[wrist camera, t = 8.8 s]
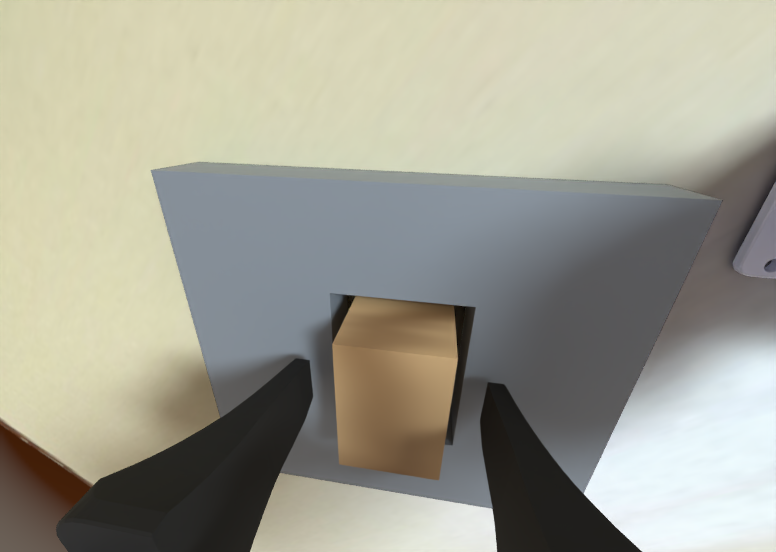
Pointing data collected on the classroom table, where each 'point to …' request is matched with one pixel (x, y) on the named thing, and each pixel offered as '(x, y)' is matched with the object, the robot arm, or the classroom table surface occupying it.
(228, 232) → the keyed pocket board
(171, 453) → the robot arm
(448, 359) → the oak key block
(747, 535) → the classroom table surface
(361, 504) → the classroom table surface
